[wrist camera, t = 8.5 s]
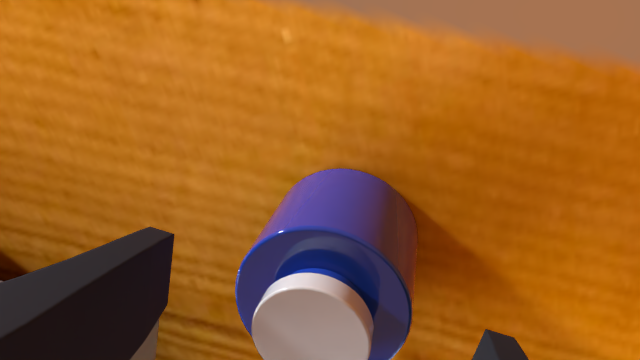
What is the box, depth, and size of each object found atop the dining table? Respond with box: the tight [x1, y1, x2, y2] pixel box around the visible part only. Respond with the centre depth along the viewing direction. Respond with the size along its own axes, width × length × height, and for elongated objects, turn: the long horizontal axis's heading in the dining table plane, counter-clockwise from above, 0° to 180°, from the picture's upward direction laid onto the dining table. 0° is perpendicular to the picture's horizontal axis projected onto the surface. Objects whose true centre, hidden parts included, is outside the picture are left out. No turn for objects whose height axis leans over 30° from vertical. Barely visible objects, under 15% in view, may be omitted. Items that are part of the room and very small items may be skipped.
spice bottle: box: [235, 169, 418, 360], centre depth 13 cm, size 4×4×5 cm
